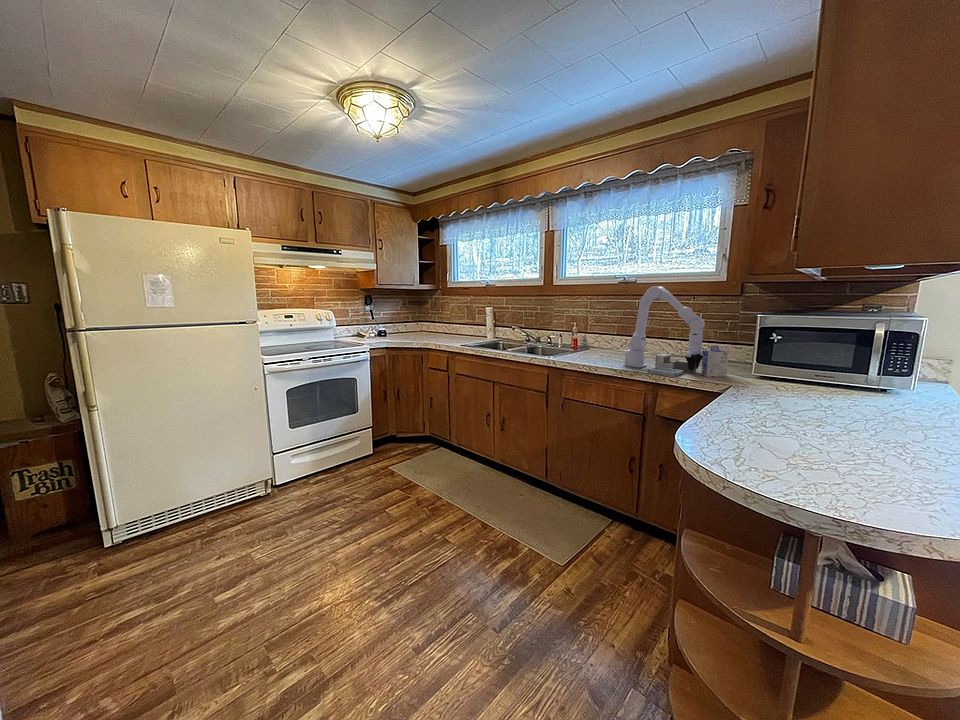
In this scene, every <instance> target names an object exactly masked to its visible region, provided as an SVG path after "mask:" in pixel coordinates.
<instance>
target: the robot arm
mask: <svg viewBox="0 0 960 720" xmlns="http://www.w3.org/2000/svg"><path fill="white" fill-rule="evenodd" d="M657 300H661V301H662V300H663V301H666V302H667V303H668V304H670V306H672V307H673V308H674V309H675V310H676V311H677V312H678V316H679V318H681V319H682V320H683V321H684V322H685V323H686V324H687V325H688V327H689V328H690V330H689V331H690V332H689V337H688V338H689V340H688V350H687V352H685V356H684V357H685V361H687V363H688V368H689V370H694V368H695V364H696V363H697V366H696V370H698V369H699V367H700V363H701V362H702V357H703V351H704V350H703V337H704V334H703V333H704V327H705V325H706V322H705V320H704V319H703V318H701V317H700V315H699V314H697V313H695V312H694V311H693V308H692V307H688V306H684V305H683V304H682V303H681V302H680V301H679V300H678V299H677V298H676V297H675V296H674V294H672V293H671V292H670V291H669V290H667V289H666V288H665V287H664V286H661V285H660V286H656V285H655V286H652V287H650V288H648V289H647V290H646V291H645V293H644V294H643V295H642V297H641V298H640V300H639V305H638V310H637V316H636V322H635V328H634V333H633V334H632V336H631V340H629V342H628V345H629V348H628V349H627V350H626V351H625V353H624V364H623V366H626V367H633V368H640V367H641V368H644V366H645V367H647V366H648V365H647V364H644V363H645V347H646V346H647V339H646V337H647V336H646V330H647V323H648V318H649V313H650V306H651V304H652V303H654V302H655V301H657Z"/></svg>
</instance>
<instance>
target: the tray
mask: <svg viewBox="0 0 960 720" xmlns="http://www.w3.org/2000/svg"><path fill="white" fill-rule="evenodd" d="M646 372H647V373H649V372H651V373H650V374H655V373H657V374H658V375H662V374H663V376H670V377H675V378H676V377H678V376H681V374H682V375H684V374H685V372H684V370H677V369H670V368H663V367H655V366H652V367H649V368H647V369H646Z"/></svg>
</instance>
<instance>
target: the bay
mask: <svg viewBox="0 0 960 720" xmlns="http://www.w3.org/2000/svg"><path fill="white" fill-rule="evenodd" d="M672 356H673V354H672V353H660V354H655V363H654V367H663V368H670V369H673V368H674V367H675V361H672V360H671V359H672Z"/></svg>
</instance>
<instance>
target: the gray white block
mask: <svg viewBox="0 0 960 720" xmlns="http://www.w3.org/2000/svg"><path fill="white" fill-rule="evenodd" d="M674 362H675V367H674V369H677V370H684V373H687V372H689V373H688V374H694V372H695V373H697V369H696V366H697V363H696V364H695V368H694V370H689V368H688V363H687V360H682V359H681V360H680V359H678V360H674Z"/></svg>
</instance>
